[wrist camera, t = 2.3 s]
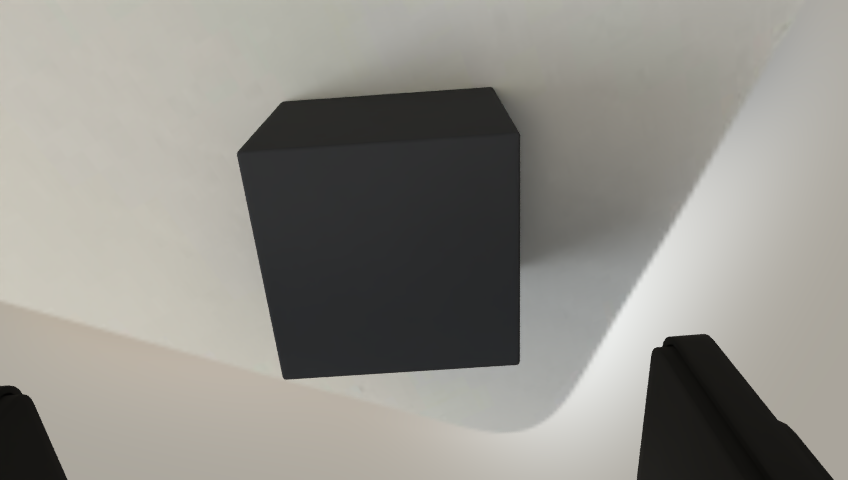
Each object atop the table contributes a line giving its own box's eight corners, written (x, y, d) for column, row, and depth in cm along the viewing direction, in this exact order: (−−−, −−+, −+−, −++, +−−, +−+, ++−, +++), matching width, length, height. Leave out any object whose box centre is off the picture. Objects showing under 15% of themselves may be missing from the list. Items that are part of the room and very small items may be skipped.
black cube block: (493, 86, 18) (520, 132, 13) (496, 274, 20) (520, 366, 16) (280, 101, 18) (235, 151, 13) (311, 286, 20) (282, 381, 16)
